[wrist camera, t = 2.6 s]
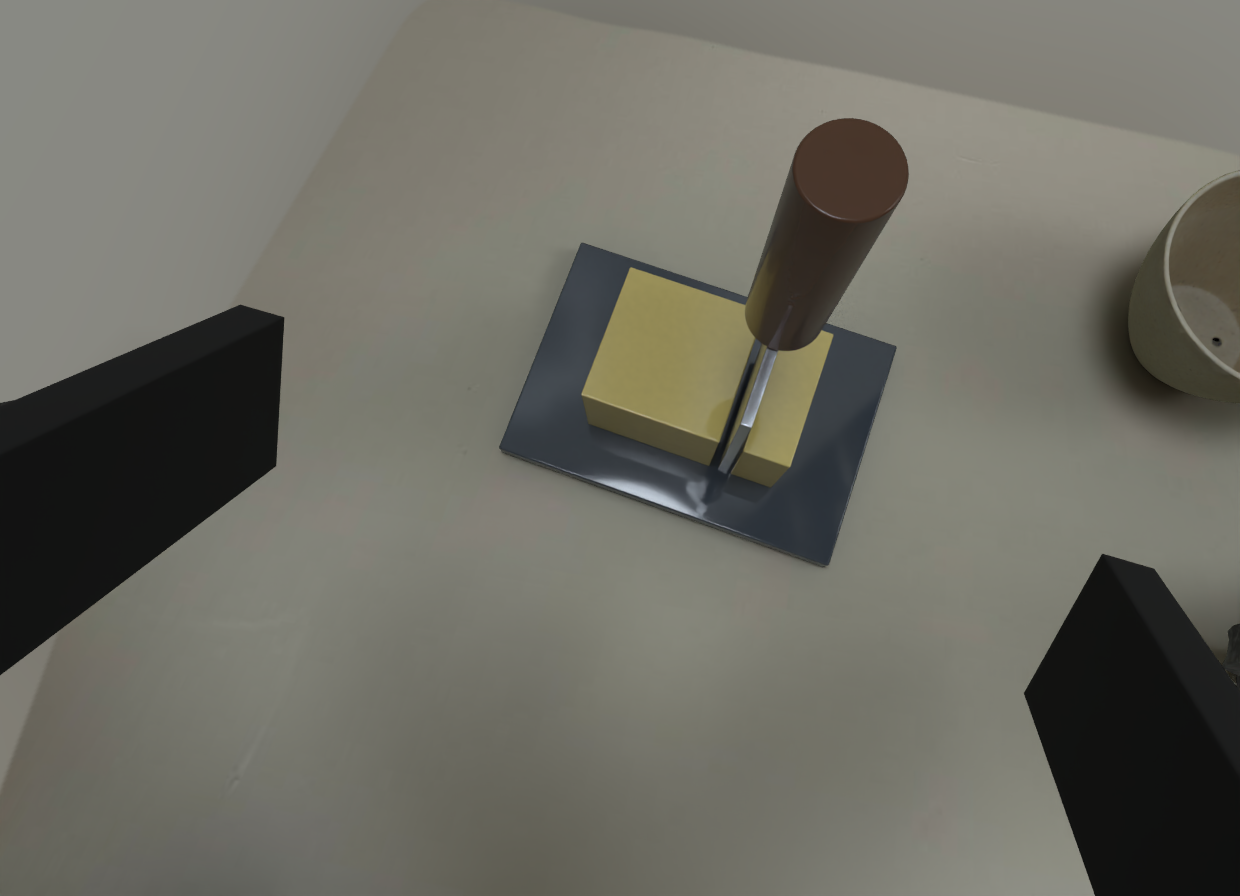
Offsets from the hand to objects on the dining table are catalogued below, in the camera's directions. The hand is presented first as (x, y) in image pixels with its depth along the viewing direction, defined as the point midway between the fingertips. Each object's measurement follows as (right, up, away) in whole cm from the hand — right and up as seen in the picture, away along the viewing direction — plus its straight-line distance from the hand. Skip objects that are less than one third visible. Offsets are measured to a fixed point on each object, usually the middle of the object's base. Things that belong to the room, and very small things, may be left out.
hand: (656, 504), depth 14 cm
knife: (+5, +4, +22) cm, 23 cm away
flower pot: (+27, +6, +28) cm, 39 cm away
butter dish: (+3, +3, +28) cm, 28 cm away
